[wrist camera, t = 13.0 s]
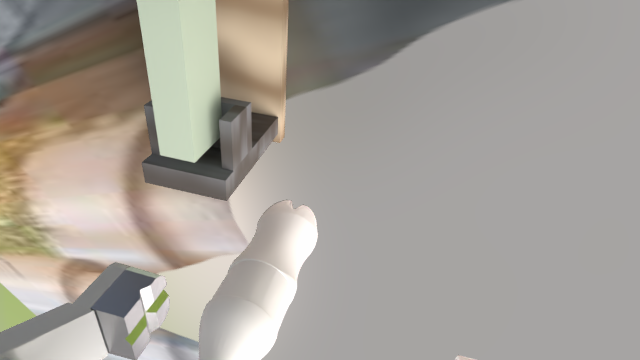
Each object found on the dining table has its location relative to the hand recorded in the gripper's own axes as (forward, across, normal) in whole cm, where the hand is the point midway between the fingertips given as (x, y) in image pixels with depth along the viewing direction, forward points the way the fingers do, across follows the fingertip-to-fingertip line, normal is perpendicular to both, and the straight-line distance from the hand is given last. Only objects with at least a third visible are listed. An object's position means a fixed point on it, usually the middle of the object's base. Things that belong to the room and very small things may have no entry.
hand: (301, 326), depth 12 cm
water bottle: (+33, +10, +24) cm, 42 cm away
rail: (+23, +15, -1) cm, 28 cm away
